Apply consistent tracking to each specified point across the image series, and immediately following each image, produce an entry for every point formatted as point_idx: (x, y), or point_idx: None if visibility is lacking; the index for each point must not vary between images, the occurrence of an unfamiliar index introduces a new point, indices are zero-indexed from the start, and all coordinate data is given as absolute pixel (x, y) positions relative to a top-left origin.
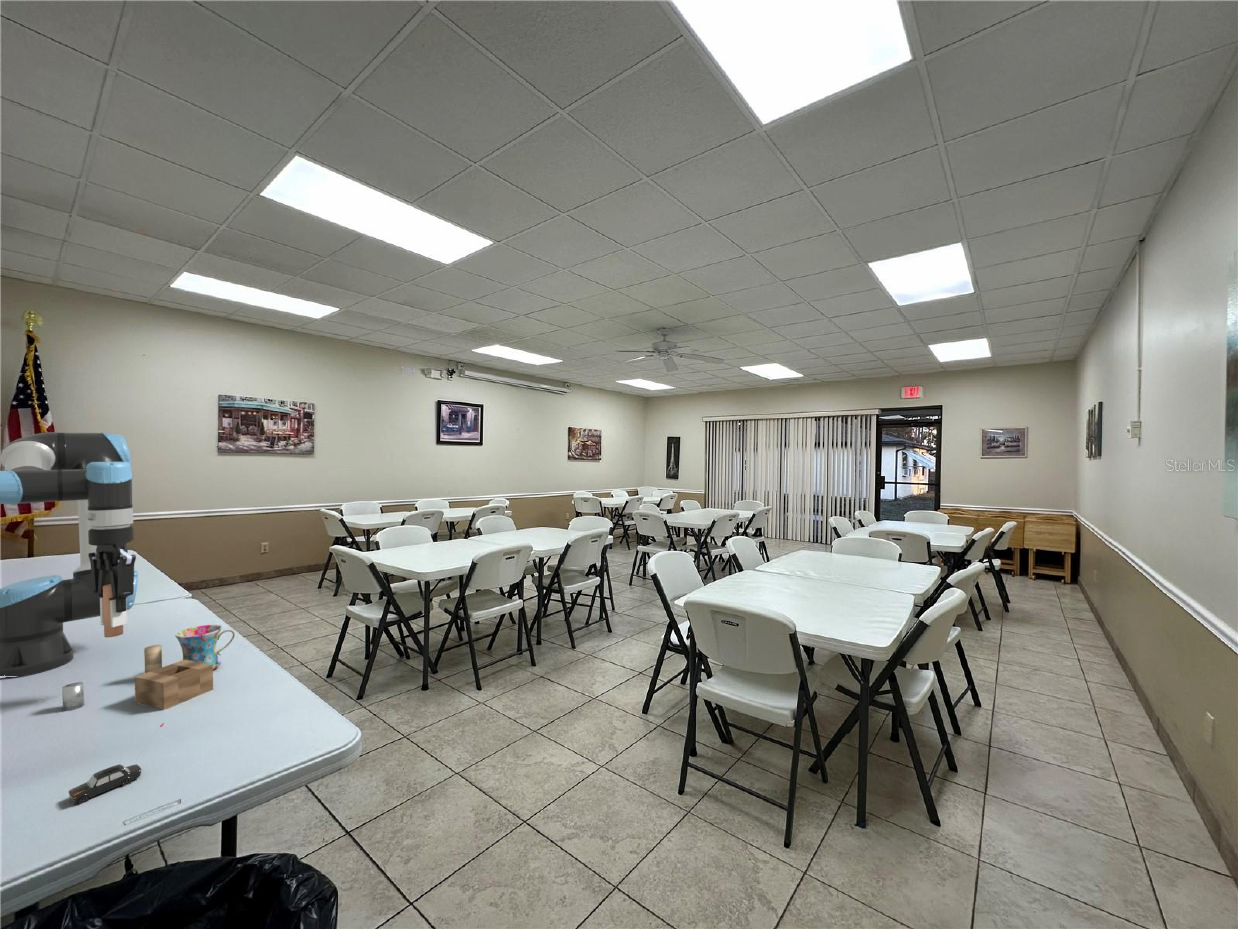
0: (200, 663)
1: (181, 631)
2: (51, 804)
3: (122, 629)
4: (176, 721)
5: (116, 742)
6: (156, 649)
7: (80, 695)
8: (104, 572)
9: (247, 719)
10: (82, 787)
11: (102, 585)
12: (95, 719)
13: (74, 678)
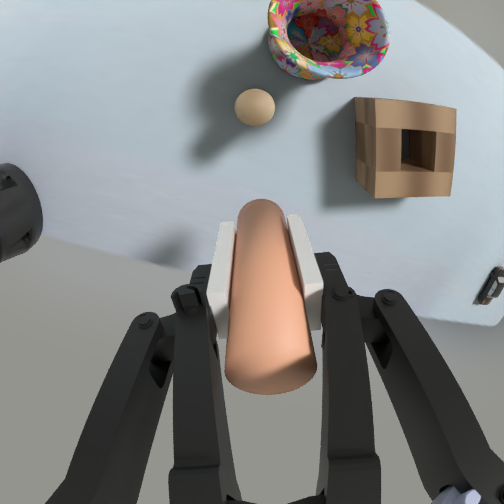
0: (430, 108)
1: (281, 42)
2: (470, 306)
3: (279, 212)
4: (465, 195)
5: (443, 249)
6: (274, 107)
7: None
8: (231, 462)
9: None
10: (488, 300)
11: (221, 388)
12: (357, 233)
13: (105, 183)
